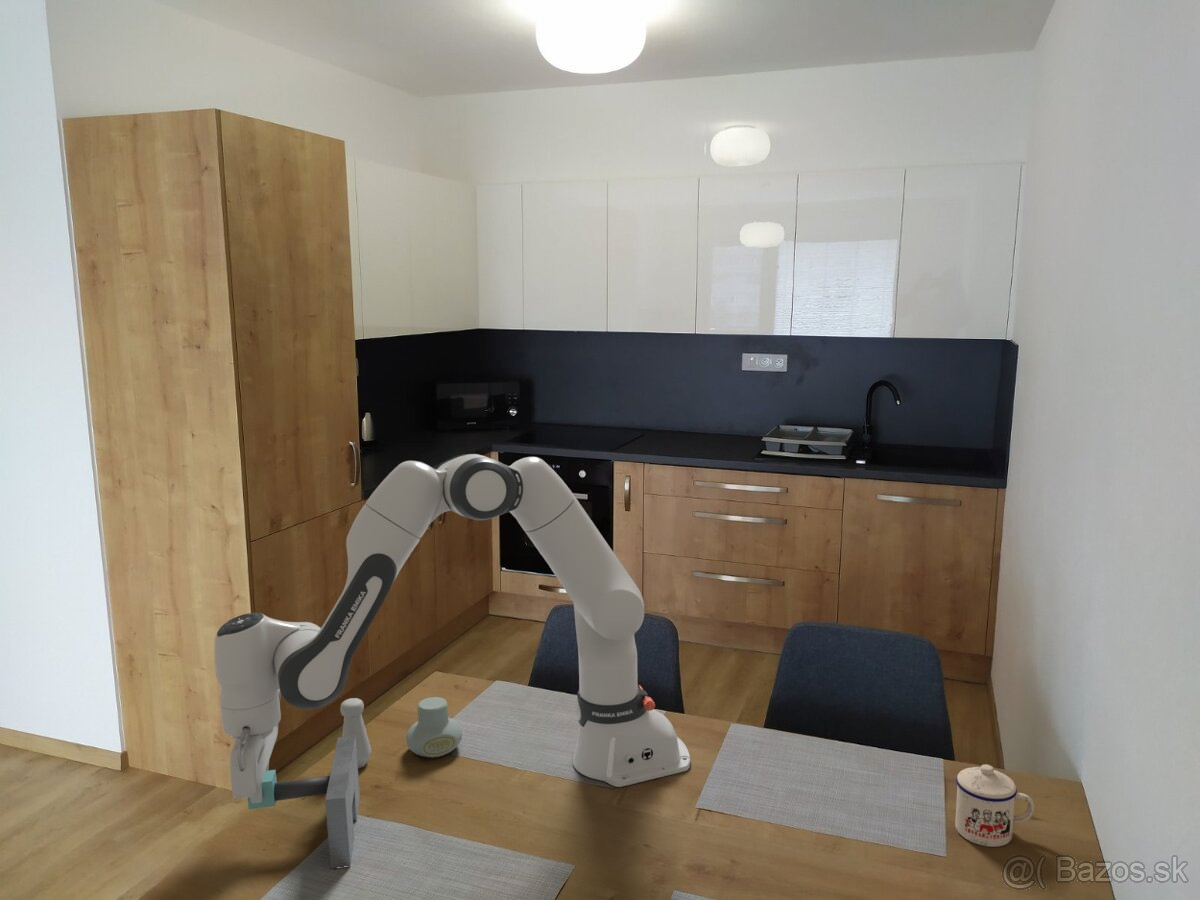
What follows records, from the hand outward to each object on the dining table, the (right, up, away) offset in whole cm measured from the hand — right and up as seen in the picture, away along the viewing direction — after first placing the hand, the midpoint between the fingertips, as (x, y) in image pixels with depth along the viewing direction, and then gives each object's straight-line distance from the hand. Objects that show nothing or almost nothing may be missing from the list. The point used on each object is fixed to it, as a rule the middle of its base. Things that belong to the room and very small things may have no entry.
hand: (260, 792), depth 144 cm
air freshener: (+23, -4, +30) cm, 38 cm away
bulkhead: (+13, -8, +4) cm, 16 cm away
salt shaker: (+9, -5, +25) cm, 27 cm away
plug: (+5, -1, +1) cm, 5 cm away
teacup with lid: (+121, -7, 0) cm, 121 cm away
